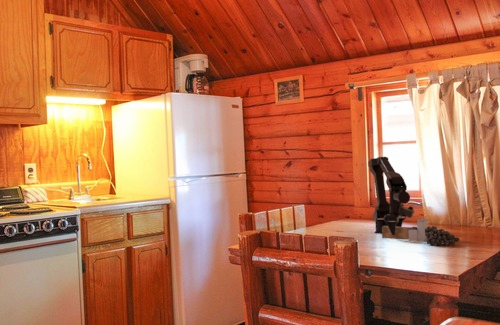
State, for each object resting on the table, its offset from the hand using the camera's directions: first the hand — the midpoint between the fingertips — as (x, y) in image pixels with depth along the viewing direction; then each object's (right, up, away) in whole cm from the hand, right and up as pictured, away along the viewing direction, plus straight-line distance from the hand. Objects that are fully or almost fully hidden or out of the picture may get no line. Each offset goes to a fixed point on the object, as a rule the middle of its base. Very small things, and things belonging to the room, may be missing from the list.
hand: (396, 233), depth 242 cm
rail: (+1, -2, -1) cm, 3 cm away
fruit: (+14, -3, -21) cm, 25 cm away
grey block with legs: (+9, -2, -6) cm, 11 cm away
